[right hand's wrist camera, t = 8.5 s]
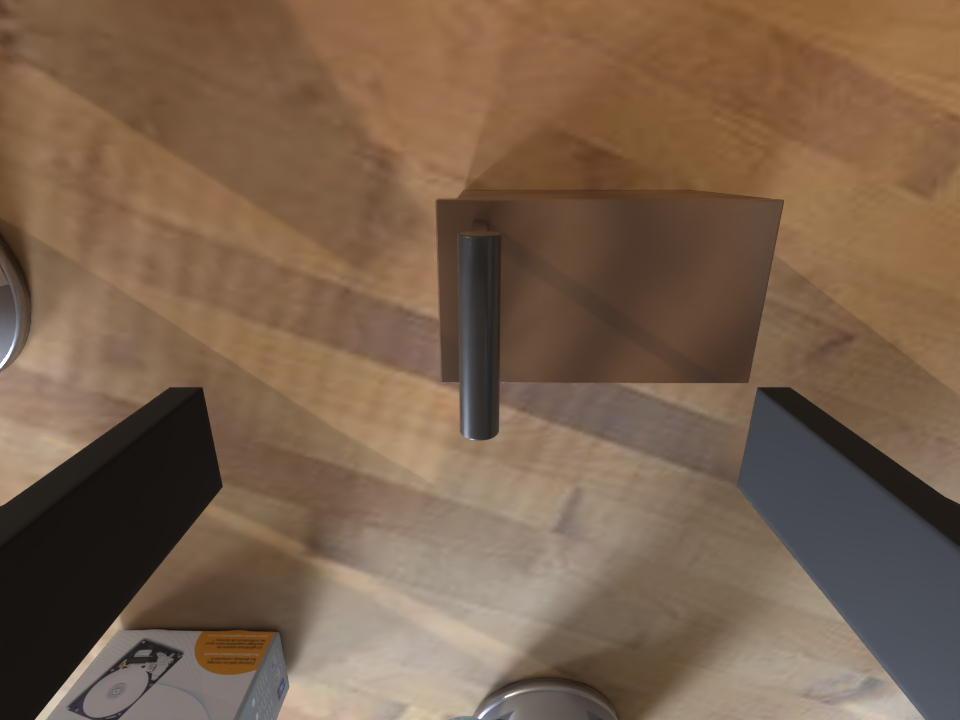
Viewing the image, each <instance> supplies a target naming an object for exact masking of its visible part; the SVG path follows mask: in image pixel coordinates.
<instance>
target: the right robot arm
mask: <svg viewBox="0 0 960 720" xmlns="http://www.w3.org/2000/svg"><path fill="white" fill-rule="evenodd" d="M30 324H31V304H30V298H29V292H28V289H27V285H26V282H25V279H24V276H23V274H22V271H21V269H20V267H19V265H18V263H17V261H16V259H15V257H14V256H13V254H12V252H11V251H10V249H9V248H8V246H7V245H6V243H5V242H4V241H3V239H2V238H1V237H0V372H1V371H3V370H4V369H5V368H7V367H8V366H9V365H10V364H11V363H12V362H13V361H14V360H15V359H16V358H17V357H18V355H19V354H20V353H21V351H22V349H23V347H24V345H25V343H26V341H27V338H28V334H29V331H30ZM222 487H223V486H222V481H221V476H220V471H219V466H218V461H217V456H216V452H215V447H214V442H213V437H212V432H211V427H210V422H209V417H208V412H207V407H206V403H205V398H204V393H203V388H202V387H170V388H169V389H167V390H166V391H164V392H163V393H161V394H160V395H159V396H157V397H156V398H154V399H153V400H152V401H150V402H149V403H147V404H146V405H145V406H143V407H142V408H140V409H139V410H137V411H136V412H135V413H133V414H132V415H130V416H129V417H128V418H126V419H125V420H123V421H122V422H121V423H119V424H118V425H116V426H115V427H113V428H112V429H111V430H109V431H108V432H106V433H105V434H104V435H102V436H101V437H99V438H98V439H96V440H95V441H94V442H92V443H91V444H89V445H88V446H87V447H85V448H84V449H82V450H81V451H80V452H78V453H77V454H75V455H74V456H72V457H71V458H70V459H68V460H67V461H65V462H64V463H63V464H61V465H60V466H58V467H57V468H55V469H54V470H53V471H51V472H50V473H48V474H47V475H46V476H44V477H43V478H41V479H40V480H39V481H37V482H36V483H34V484H33V485H31V486H30V487H29V488H27V489H26V490H24V491H23V492H22V493H20V494H19V495H17V496H16V497H15V498H13V499H12V500H10V501H9V502H7V503H6V504H4V505H2V506H0V720H35V719H36V717H37V716H38V715H39V714H40V712H41V711H42V710H43V709H44V707H45V706H46V705H47V704H48V702H49V701H50V700H51V699H52V698H53V696H54V695H55V694H56V693H57V691H58V690H59V689H60V688H61V686H62V685H63V684H64V683H65V681H66V680H67V679H68V678H69V676H70V675H71V674H72V673H73V672H74V670H75V669H76V668H77V667H78V665H79V664H80V663H81V662H82V660H83V659H84V658H85V657H86V655H87V654H88V653H89V652H90V650H91V649H92V648H93V647H94V646H95V644H96V643H97V642H98V641H99V639H100V638H101V637H102V636H103V634H104V633H105V632H106V631H107V629H108V628H109V627H110V626H111V624H112V623H113V622H114V621H115V620H116V618H117V617H118V616H119V615H120V613H121V612H122V611H123V610H124V608H125V607H126V606H127V605H128V603H129V602H130V601H131V600H132V598H133V597H134V596H135V595H136V594H137V592H138V591H139V590H140V589H141V587H142V586H143V585H144V584H145V582H146V581H147V580H148V579H149V577H150V576H151V575H152V574H153V572H154V571H155V570H156V569H157V568H158V566H159V565H160V564H161V563H162V561H163V560H164V559H165V558H166V556H167V555H168V554H169V553H170V551H171V550H172V549H173V548H174V546H175V545H176V544H177V543H178V542H179V540H180V539H181V538H182V537H183V535H184V534H185V533H186V532H187V530H188V529H189V528H190V527H191V525H192V524H193V523H194V522H195V520H196V519H197V518H198V517H199V515H200V514H201V513H202V512H203V511H204V509H205V508H206V507H207V506H208V504H209V503H210V502H211V501H212V499H213V498H214V497H215V496H216V494H217V493H218V492H219V491H220V489H221V488H222ZM737 487H738V488H739V489H740V491H741V492H742V493H743V494H744V496H745V497H746V498H747V499H748V501H749V502H750V503H751V504H752V506H753V507H754V508H755V509H756V511H757V512H758V513H759V514H760V515H761V517H762V518H763V519H764V520H765V522H766V523H767V524H768V525H769V527H770V528H771V529H772V530H773V532H774V533H775V534H776V535H777V537H778V538H779V539H780V540H781V542H782V543H783V544H784V545H785V546H786V548H787V549H788V550H789V551H790V553H791V554H792V555H793V556H794V558H795V559H796V560H797V561H798V563H799V564H800V565H801V566H802V568H803V569H804V570H805V571H806V572H807V574H808V575H809V576H810V577H811V579H812V580H813V581H814V582H815V584H816V585H817V586H818V587H819V589H820V590H821V591H822V592H823V594H824V595H825V596H826V597H827V598H828V600H829V601H830V602H831V603H832V605H833V606H834V607H835V608H836V610H837V611H838V612H839V613H840V615H841V616H842V617H843V618H844V620H845V621H846V622H847V623H848V624H849V626H850V627H851V628H852V629H853V631H854V632H855V633H856V634H857V636H858V637H859V638H860V639H861V641H862V642H863V643H864V644H865V646H866V647H867V648H868V649H869V650H870V652H871V653H872V654H873V655H874V657H875V658H876V659H877V660H878V662H879V663H880V664H881V665H882V667H883V668H884V669H885V670H886V672H887V673H888V674H889V675H890V676H891V678H892V679H893V680H894V681H895V683H896V684H897V685H898V686H899V688H900V689H901V690H902V691H903V693H904V694H905V695H906V696H907V698H908V699H909V700H910V701H911V702H912V704H913V705H914V706H915V707H916V709H917V710H918V711H919V712H920V714H921V715H922V716H923V717H924V719H925V720H960V504H958V503H956V502H954V501H952V500H950V499H948V498H945V497H944V496H943V495H941V494H940V493H938V492H937V491H936V490H934V489H933V488H931V487H930V486H929V485H927V484H926V483H924V482H923V481H921V480H920V479H919V478H917V477H916V476H914V475H913V474H912V473H910V472H909V471H907V470H906V469H904V468H903V467H902V466H900V465H899V464H897V463H896V462H895V461H893V460H892V459H890V458H889V457H888V456H886V455H885V454H883V453H882V452H880V451H879V450H878V449H876V448H875V447H873V446H872V445H871V444H869V443H868V442H866V441H865V440H864V439H862V438H861V437H859V436H858V435H856V434H855V433H854V432H852V431H851V430H849V429H848V428H847V427H845V426H844V425H842V424H841V423H839V422H838V421H837V420H835V419H834V418H832V417H831V416H830V415H828V414H827V413H825V412H824V411H823V410H821V409H820V408H818V407H817V406H815V405H814V404H813V403H811V402H810V401H808V400H807V399H806V398H804V397H803V396H801V395H800V394H799V393H797V392H796V391H794V390H793V389H791V388H790V387H758V388H757V393H756V398H755V403H754V407H753V412H752V417H751V422H750V427H749V432H748V437H747V442H746V447H745V452H744V456H743V461H742V466H741V471H740V476H739V481H738V486H737Z"/></svg>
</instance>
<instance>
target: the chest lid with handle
mask: <svg viewBox="0 0 960 720" xmlns="http://www.w3.org/2000/svg"><path fill="white" fill-rule="evenodd" d="M783 204H784V200H780V199H437V200H436V231H437V266H438V301H439V335H440V370H441V383H459V391H460V432H461V434H462V435H463V436H464V437H466V438H468V439H471V440H488V439H491V438H493V437H495V436H496V435H497V434H498V432H499V387H500V383H748V382H749V377H750V372H751V366H752V361H753V356H754V351H755V346H756V341H757V336H758V331H759V326H760V321H761V316H762V310H763V305H764V300H765V295H766V290H767V285H768V280H769V275H770V270H771V265H772V260H773V254H774V249H775V244H776V239H777V234H778V229H779V224H780V219H781V214H782V209H783Z"/></svg>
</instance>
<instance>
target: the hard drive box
mask: <svg viewBox="0 0 960 720" xmlns="http://www.w3.org/2000/svg"><path fill="white" fill-rule="evenodd" d="M288 689H289V681H288V676H287V670H286V665H285V660H284V655H283V650H282V644H281V639H280V635H279V632H253V631H248V630H231V631H170V630H165V629H149V630H118V631H117V632H116V633H115V635H114V636H113V637H112V638H111V640H110V641H109V642H108V643H107V644H106V646H105V647H104V648H103V649H102V651H101V652H100V653H99V654H98V656H97V657H96V658H95V659H94V661H93V662H92V663H91V664H90V666H89V667H88V668H87V669H86V671H85V672H84V673H83V674H82V675H81V677H80V678H79V679H78V680H77V682H76V683H75V684H74V685H73V687H72V688H71V689H70V690H69V692H68V693H67V694H66V695H65V697H64V698H63V699H62V700H61V701H60V703H59V704H58V705H57V706H56V708H55V709H54V710H53V711H52V713H51V714H50V715H49V716H48V718H47V719H46V720H276V719H277V717H278V714H279V711H280V709H281V706H282V704H283V701H284V699H285V697H286V694H287V692H288Z"/></svg>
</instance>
